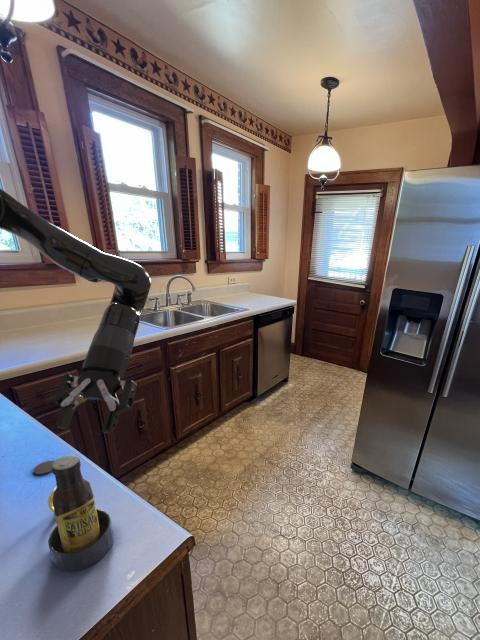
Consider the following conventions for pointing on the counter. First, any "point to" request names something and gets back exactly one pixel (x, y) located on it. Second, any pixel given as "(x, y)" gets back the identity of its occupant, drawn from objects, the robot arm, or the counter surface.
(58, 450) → the counter surface
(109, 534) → the pan
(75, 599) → the counter surface
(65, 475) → the sauce bottle
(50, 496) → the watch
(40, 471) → the brown flat disc
